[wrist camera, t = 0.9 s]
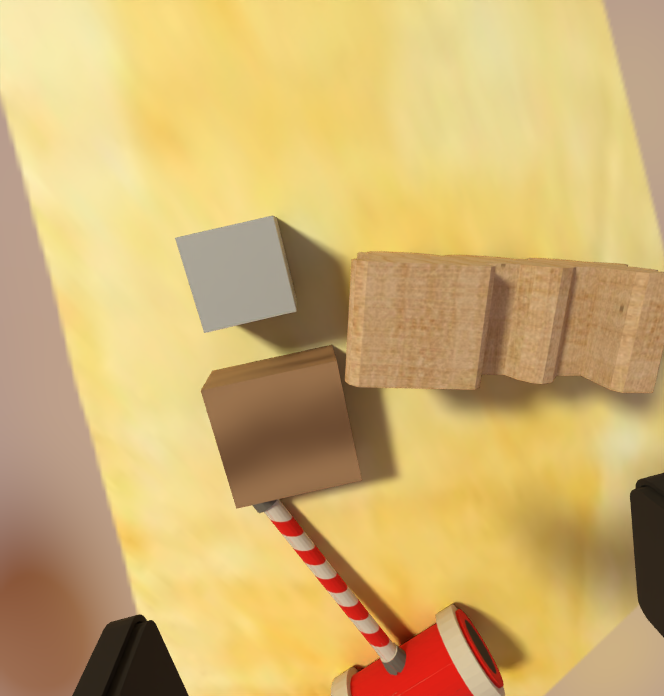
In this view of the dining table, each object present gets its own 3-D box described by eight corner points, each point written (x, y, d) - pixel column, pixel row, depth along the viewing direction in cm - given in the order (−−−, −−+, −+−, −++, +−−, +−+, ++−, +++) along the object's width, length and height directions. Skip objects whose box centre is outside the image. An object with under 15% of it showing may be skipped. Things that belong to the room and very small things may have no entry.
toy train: (576, 342, 31) (702, 394, 21) (330, 335, 30) (347, 388, 20) (591, 260, 30) (734, 276, 20) (334, 249, 28) (354, 260, 19)
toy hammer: (193, 526, 33) (170, 594, 27) (325, 435, 32) (332, 485, 26) (368, 706, 39) (382, 796, 32) (484, 634, 38) (521, 714, 31)
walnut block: (213, 369, 30) (200, 390, 26) (331, 343, 30) (336, 360, 26) (243, 474, 32) (236, 508, 28) (354, 450, 32) (362, 480, 28)
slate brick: (196, 235, 27) (175, 237, 22) (276, 217, 27) (273, 215, 23) (219, 314, 29) (204, 332, 24) (296, 297, 29) (296, 311, 24)
